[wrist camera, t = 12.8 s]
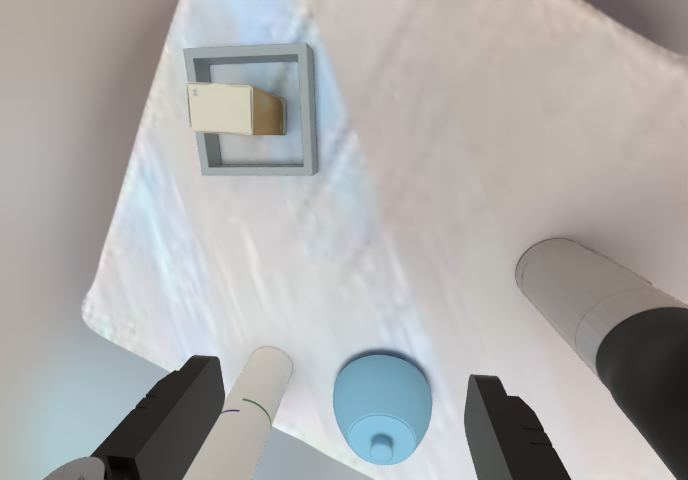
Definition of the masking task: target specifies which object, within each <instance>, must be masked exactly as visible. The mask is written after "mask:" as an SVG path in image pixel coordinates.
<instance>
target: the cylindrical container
mask: <svg viewBox="0 0 688 480" xmlns="http://www.w3.org/2000/svg"><path fill="white" fill-rule="evenodd" d="M292 368H293V367H292V362H291V360H290V358H289V357H288V355H287V354H286V353H284V352H283V351H282V350H280V349H278V348H275V347H262V348H259V349H257V350H256V351H255V352H253V354H252V355H251V357H250V359H249V361H248V362H247V364H246V366H245V367H244V369H243V371H242V373H241V374H240V376H239V378H238V379H237V381H236V383H235V384H234V386H233V388H232V390H231V391H230V393H229V395H228V396H227V398H226V400H225V402H224V406H223V409H222V412H221V414H220V416H219V418H218V420H217V421H216V423H215V425H214V426H213V428H212V430H211V432H210V433H209V435H208V437H207V438H206V440H205V442H204V444H203V445H202V447H201V449H200V450H199V452H198V454H197V456H196V457H195V459H194V461H193V462H192V464H191V466H190V468H189V469H188V471H187V473H186V474H185V476H184V478H183V480H251V479H252V476H253V474H254V471H255V469H256V466H257V463H258V461H259V457H260V455H261V453H262V450H263V447H264V445H265V442H266V439H267V437H268V434H269V431H270V429H271V426H272V424H273V421H274V418H275V416H276V413H277V410H278V408H279V405H280V402H281V400H282V397H283V394H284V392H285V389H286V386H287V384H288V381H289V378H290V376H291V373H292Z"/></svg>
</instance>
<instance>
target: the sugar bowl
mask: <svg viewBox="0 0 688 480" xmlns="http://www.w3.org/2000/svg"><path fill="white" fill-rule="evenodd" d="M333 407H334V413H335V417H336V421H337V424H338V426H339V428H340V431H341V433H342V434H343V436H344V438H345V440H346V442H347V443H348V445H349V446H350V448H351V449H352V450H353V451H354V452H355V454H357V455H358V456H359V457H360V458H362V459H364V460H365V461H368V462H370V463H373V464H378V465H392V464H397V463H400V462H402V461H404V460H406V459H407V458H408V457H409V456H410V455H411V454H412V453H413V452H414V451H415V449H416V448H417V447H418V445H419V444H420V442H421V440H422V439H423V437H424V435H425V433H426V431H427V429H428V426H429V422H430V419H431V411H432V396H431V390H430V387H429V384H428V382H427V381H426V379H425V377H424V376H423V375H422V374H421V372H420V371H419V370H418V369H417V368H416V367H414V366H413V365H411V364H410V363H408V362H406V361H404V360H402V359H399V358H396V357H393V356H388V355H371V356H366V357H362V358H359V359H357V360H355V361H353V362H351V363H350V364H349V365H347V366H346V367H345V368H344V369H343V370H342V371H341V373H340V374H339V375H338V377H337V379H336V382H335V385H334V391H333Z"/></svg>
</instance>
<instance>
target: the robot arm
mask: <svg viewBox="0 0 688 480" xmlns="http://www.w3.org/2000/svg"><path fill="white" fill-rule="evenodd" d="M516 280H517V284H518V286H519V288H520V290H521V291H522V292H523V293H524V295H525V296H526V297H527V298H528V299H529V300H530V301H531V303H532V304H533V305H534V306H535V307H536V309H537V310H538V311H539V312H540V313H541V314H542V315H543V316H544V318H545V319H546V320H547V321H548V322H549V323H550V324H551V325H552V327H553V328H554V329H555V330H556V331H557V332H558V333H559V335H560V336H561V337H562V338H563V339H564V340H565V341H566V342H567V344H568V345H569V346H570V347H571V348H572V349H573V350H574V351H575V353H576V354H577V355H578V356H579V357H580V358H581V359H582V360H583V361H584V363H585V364H586V365H587V366H588V367H589V368H590V369H591V370H592V372H593V373H594V374H595V375H596V376H597V377H598V378H599V380H600V381H601V382H602V383H603V384H604V385H605V386H606V387H607V388H608V390H609V391H610V392H611V394H612V397H613V398H614V400H615V402H616V403H617V405H618V406H619V407H620V409H621V410H622V411H623V412H624V414H625V415H626V416H627V417H628V418H629V420H630V421H631V422H632V423H633V424H634V426H635V427H636V428H637V429H638V430H639V432H640V433H641V434H642V435H643V437H644V438H645V439H646V440H647V442H648V443H649V444H650V446H651V447H652V448H653V449H654V451H655V452H656V453H657V454H658V456H659V457H660V458H661V460H662V461H663V462H664V464H665V465H666V466H667V467H668V469H669V470H670V471H671V473H672V474H673V475H674V477H675V478H676V479H677V480H688V305H686V304H684V303H682V302H681V301H679V300H677V299H675V298H674V297H672V296H670V295H668V294H666V293H664V292H663V291H661V290H659V289H657V288H655V287H654V286H652V283H651V282H650V281H648V280H647V279H645V278H643V277H641V276H639V275H637V274H636V273H634V272H632V271H630V270H628V269H627V268H625V267H623V266H621V265H619V264H617V263H616V262H614V261H612V260H610V259H608V258H607V257H605V256H603V255H601V254H599V253H598V252H596V251H593V250H588V249H587V248H585V247H583V246H581V245H579V244H578V243H575V242H573V241H571V240H566V239H551V240H546V241H543V242H540V243H538V244H537V245H535V246H533V247H532V248H530V249H529V250H528V251H527V252H526V253H525V254H524V255H523V256H522V258H521V260H520V261H519V263H518V266H517V269H516ZM224 401H225V391H224V385H223V379H222V372H221V366H220V361H219V359H218V357H216V356H201V355H194V356H192V357H191V358H190V359H189V360H188V361H187V362H186V363H185V364H184V365H183V367H182V368H181V369H180V370H179V371H176V370H175V371H173V372H172V373H170V374H169V375H167V376H166V377H164V378H163V379H161V380H160V381H158V382H157V383H156V385H155V386H154V387H153V388H152V389H151V390H150V391H149V392H148V394H146V397H145V398H143V399H142V400H141V401H140V402H139V403H138V404H137V405H136V408H135V409H133V410H132V411H131V412H130V413H129V414H128V415H127V416H126V417H125V418H124V420H123V421H122V422H121V423H120V424H119V425H118V426H117V427H116V428H115V429H114V431H113V432H112V433H111V434H110V435H109V436H108V437H107V438H106V439H105V441H104V442H103V443H102V444H101V445H100V446H99V447H98V448H97V449H96V450H95V451H94V453H93V454H92V455H91V456H90V457H83V458H79V459H76V460H73V461H71V462H69V463H66V464H65V465H63V466H61V467H59V468H58V469H56V470H55V471H53V472H52V473H50V474H49V475H48V476H47V477H45V478H44V479H43V480H183V478H184V476H185V474H186V473H187V471H188V469H189V468H190V466H191V464H192V462H193V461H194V459H195V457H196V456H197V454H198V452H199V450H200V449H201V447H202V445H203V444H204V442H205V440H206V438H207V437H208V435H209V433H210V432H211V430H212V428H213V426H214V425H215V423H216V421H217V420H218V418H219V416H220V414H221V412H222V409H223V406H224ZM464 424H465V433H466V437H467V441H468V445H469V449H470V452H471V456H472V460H473V463H474V467H475V470H476V474H477V478H478V480H571V478H570V476H569V475H568V473H567V471H566V469H565V467H564V465H563V463H562V462H561V460H560V458H559V456H558V454H557V452H556V451H555V449H554V448H553V447H552V443H551V441H550V440H549V438H548V436H547V434H546V433H544V429H543V427H542V425H541V423H540V421H539V419H538V418H537V416H536V414H535V412H534V411H533V410H532V409H531V408H530V407H529V406H528V405H527V404H526V403H525V402H524V401H523V400H522V399H521V398H520V397H519V396H507V394H506V391H505V389H504V387H503V385H502V383H501V381H500V379H499V378H498V377H497V376H488V375H473V374H471V375H470V377H469V382H468V390H467V397H466V405H465V413H464Z"/></svg>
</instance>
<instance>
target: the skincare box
mask: <svg viewBox="0 0 688 480" xmlns="http://www.w3.org/2000/svg"><path fill="white" fill-rule="evenodd" d="M186 85H187V100H188V113H189V122H190V129H191V130H192V131H197V132H204V133H216V134H235V135H285V134H286V100H285V99H283V98H280V97H278V96H275V95H273V94H271V93H268V92H266V91H263V90H261V89H258V88H256V87H253V86H250V85H238V84H222V83H202V82H187V83H186Z"/></svg>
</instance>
